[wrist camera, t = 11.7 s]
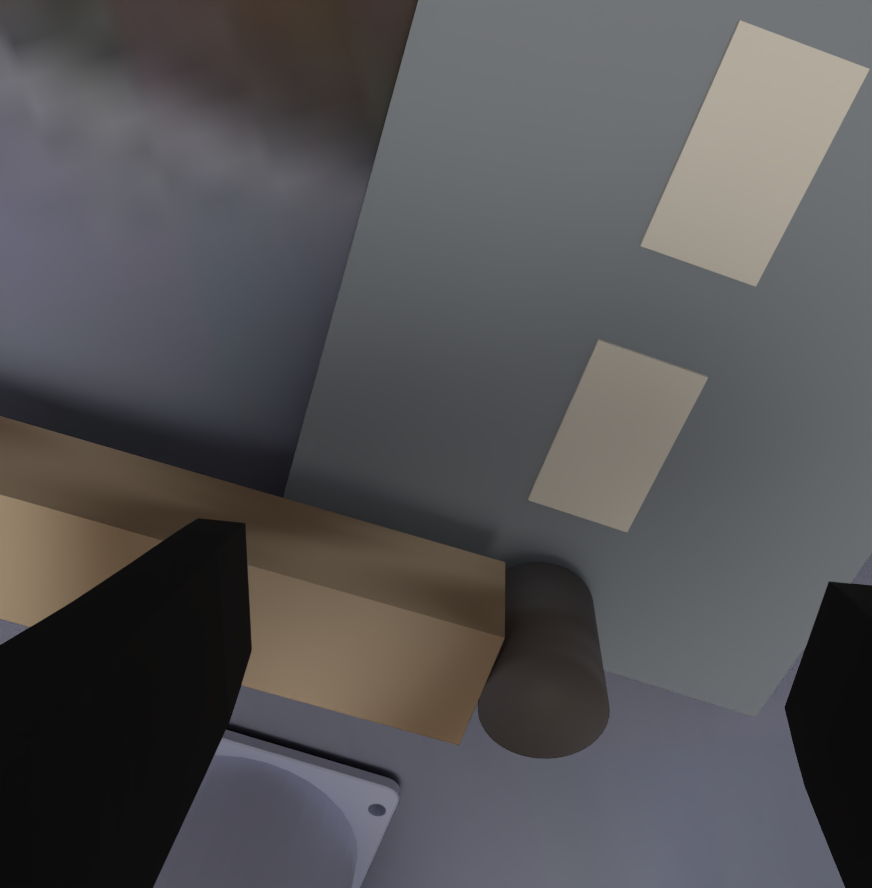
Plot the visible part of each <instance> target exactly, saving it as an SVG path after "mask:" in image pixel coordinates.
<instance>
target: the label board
mask: <svg viewBox="0 0 872 888" xmlns="http://www.w3.org/2000/svg"><path fill="white" fill-rule="evenodd" d="M283 498H285V499H289V500H292V501H296V502H299V503H303V504H306V505H309V506H313V507H316V508H320V509H323V510H327V511H330V512H334V513H337V514H341V515H344V516H347V517H351V518H354V519H358V520H361V521H365V522H368V523H372V524H375V525H379V526H382V527H385V528H389V529H392V530H396V531H399V532H403V533H406V534H410V535H413V536H416V537H420V538H423V539H427V540H430V541H434V542H437V543H441V544H444V545H448V546H451V547H454V548H458V549H461V550H465V551H468V552H472V553H475V554H479V555H482V556H486V557H489V558H492V559H496V560H499V561H503V562H505V570H507V569H509V568H511V567H514V566H517V565H520V564H524V563H530V562H545V563H552V564H556V565H559V566H562V567H565V568H567V569H569V570H570V571H572V572H574V573H575V574H576V575H578V576H579V577H580V578H581V579H582V580H583V581H584V582H585V584H586V585H587V587H588V588H589V590H590V592H591V595H592V598H593V603H594V610H595V616H596V623H597V629H598V636H599V643H600V649H601V656H602V662H603V669H604V671H608V672H611V673H614V674H617V675H620V676H624V677H627V678H630V679H633V680H636V681H640V682H643V683H646V684H649V685H652V686H656V687H659V688H662V689H665V690H668V691H672V692H675V693H678V694H681V695H684V696H688V697H691V698H694V699H697V700H700V701H704V702H707V703H710V704H713V705H716V706H720V707H723V708H726V709H729V710H732V711H736V712H739V713H742V714H745V715H748V716H752V717H755V718H756V716H757V715H758V714H759V712H760V711H761V709H762V708H763V706H764V705H765V704H766V702H767V701H768V699H769V698H770V697H771V695H772V694H773V692H774V691H775V689H776V688H777V687H778V685H779V684H780V682H781V681H782V680H783V678H784V677H785V675H786V674H787V673H788V671H789V670H790V668H791V667H792V665H793V664H794V663H795V661H796V660H797V658H798V657H799V656H800V654H801V653H802V651H803V650H804V648H805V647H806V645H807V642H808V639H809V637H810V634H811V631H812V628H813V625H814V622H815V619H816V617H817V614H818V611H819V608H820V605H821V602H822V600H823V597H824V594H825V591H826V588H827V585H828V582H829V581H830V582H840V583H851V582H852V581H853V579H854V578H855V576H856V575H857V574H858V572H859V571H860V569H861V568H862V566H863V565H864V564H865V562H866V561H867V559H868V558H869V557H870V555H871V554H872V0H418V4H417V7H416V11H415V15H414V18H413V22H412V26H411V29H410V33H409V37H408V40H407V44H406V48H405V51H404V55H403V59H402V62H401V66H400V70H399V73H398V77H397V81H396V84H395V88H394V92H393V95H392V99H391V103H390V106H389V110H388V114H387V117H386V121H385V125H384V128H383V132H382V136H381V139H380V143H379V147H378V150H377V154H376V158H375V161H374V165H373V169H372V172H371V176H370V180H369V183H368V187H367V191H366V194H365V198H364V202H363V205H362V209H361V213H360V216H359V220H358V224H357V227H356V231H355V235H354V238H353V242H352V246H351V249H350V253H349V257H348V260H347V264H346V268H345V271H344V275H343V279H342V282H341V286H340V290H339V293H338V297H337V301H336V304H335V308H334V312H333V315H332V319H331V323H330V326H329V330H328V334H327V337H326V341H325V345H324V349H323V352H322V356H321V360H320V363H319V367H318V371H317V374H316V378H315V382H314V385H313V389H312V393H311V396H310V400H309V404H308V407H307V411H306V415H305V418H304V422H303V426H302V429H301V433H300V437H299V440H298V444H297V448H296V451H295V455H294V459H293V462H292V466H291V470H290V473H289V477H288V481H287V484H286V488H285V492H284V495H283Z"/></svg>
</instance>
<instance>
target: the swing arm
mask: <svg viewBox="0 0 872 888" xmlns="http://www.w3.org/2000/svg"><path fill="white" fill-rule="evenodd" d="M198 518H201V519H211V520H221V521H231V522H241V523H245V525H246V545H247V564H248V583H249V603H250V622H251V642H252V652H251V655H250V658H249V661H248V665H247V668H246V671H245V675H244V678H243V681H242V684H241V685H242V686H246V687H249V688H253V689H257V690H260V691H264V692H267V693H271V694H275V695H278V696H282V697H286V698H289V699H293V700H296V701H300V702H304V703H307V704H311V705H315V706H318V707H322V708H325V709H329V710H333V711H336V712H340V713H344V714H347V715H351V716H354V717H358V718H362V719H365V720H369V721H372V722H376V723H380V724H383V725H387V726H391V727H394V728H398V729H401V730H405V731H409V732H412V733H416V734H420V735H423V736H427V737H430V738H434V739H438V740H441V741H445V742H449V743H452V744H456V745H459V744H460V742H461V740H462V737H463V735H464V733H465V730H466V728H467V726H468V723H469V721H470V719H471V716H472V714H473V711H474V709H475V707H476V704H477V702H478V714H479V719H480V722H481V724H482V726H483V728H484V730H485V731H486V733H487V734H488V735H489V736H490V737H491V738H492V739H493V740H494V741H495V742H496V743H497V744H499V745H500V746H502V747H503V748H505V749H507V750H509V751H511V752H513V753H516V754H519V755H522V756H527V757H532V758H546V759H547V758H558V757H564V756H568V755H571V754H574V753H577V752H579V751H581V750H583V749H585V748H586V747H588V746H589V745H591V744H592V743H593V742H594V741H596V740H597V739H598V737H599V736H600V735H601V734H602V732H603V731H604V729H605V727H606V725H607V723H608V719H609V701H608V695H607V688H606V682H605V675H604V669H603V662H602V656H601V649H600V643H599V636H598V629H597V623H596V616H595V610H594V603H593V598H592V595H591V592H590V590H589V588H588V587H587V585H586V584H585V582H584V581H583V580H582V579H581V578H580V577H579V576H578V575H576V574H575V573H574V572H572V571H570V570H569V569H567V568H565V567H562V566H559V565H556V564H552V563H545V562H530V563H524V564H520V565H517V566H514V567H511V568H509V569H507V570H505V562H503V561H499V560H496V559H492V558H489V557H486V556H482V555H479V554H475V553H472V552H468V551H465V550H461V549H458V548H454V547H451V546H448V545H444V544H441V543H437V542H434V541H430V540H427V539H423V538H420V537H416V536H413V535H410V534H406V533H403V532H399V531H396V530H392V529H389V528H385V527H382V526H379V525H375V524H372V523H368V522H365V521H361V520H358V519H354V518H351V517H347V516H344V515H341V514H337V513H334V512H330V511H327V510H323V509H320V508H316V507H313V506H309V505H306V504H303V503H299V502H296V501H292V500H289V499H285V498H282V497H278V496H275V495H271V494H268V493H265V492H261V491H258V490H254V489H251V488H247V487H244V486H240V485H237V484H233V483H230V482H227V481H223V480H220V479H216V478H213V477H209V476H206V475H202V474H199V473H195V472H192V471H189V470H185V469H182V468H178V467H175V466H171V465H168V464H164V463H161V462H158V461H154V460H151V459H147V458H144V457H140V456H137V455H133V454H130V453H126V452H123V451H120V450H116V449H113V448H109V447H106V446H102V445H99V444H95V443H92V442H88V441H85V440H82V439H78V438H75V437H71V436H68V435H64V434H61V433H57V432H54V431H50V430H47V429H44V428H40V427H37V426H33V425H30V424H26V423H23V422H19V421H16V420H12V419H9V418H6V417H2V416H0V619H3V620H7V621H10V622H14V623H18V624H21V625H25V626H28V627H31V626H33V625H35V624H36V623H38V622H40V621H41V620H43V619H45V618H46V617H48V616H50V615H51V614H53V613H55V612H56V611H58V610H59V609H61V608H63V607H64V606H66V605H68V604H69V603H71V602H72V601H74V600H76V599H77V598H79V597H80V596H82V595H83V594H85V593H86V592H88V591H89V590H91V589H92V588H94V587H95V586H97V585H98V584H100V583H101V582H103V581H104V580H106V579H107V578H109V577H110V576H112V575H113V574H115V573H116V572H118V571H119V570H121V569H122V568H124V567H125V566H127V565H128V564H130V563H131V562H133V561H134V560H136V559H137V558H139V557H140V556H141V555H143V554H144V553H146V552H147V551H149V550H150V549H152V548H153V547H155V546H156V545H158V544H159V543H160V542H162V541H163V540H165V539H166V538H168V537H169V536H171V535H172V534H174V533H175V532H177V531H178V530H180V529H181V528H183V527H184V526H186V525H188V524H189V523H191V522H193V521H194V520H196V519H198Z"/></svg>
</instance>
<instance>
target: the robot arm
mask: <svg viewBox="0 0 872 888" xmlns="http://www.w3.org/2000/svg"><path fill="white" fill-rule="evenodd" d="M251 652H252V642H251V622H250V603H249V583H248V564H247V545H246V525H245V523H241V522H231V521H221V520H211V519H201V518H198V519H196V520H194V521H193V522H191V523H189V524H188V525H186V526H184V527H183V528H181V529H180V530H178V531H177V532H175V533H174V534H172V535H171V536H169V537H168V538H166V539H165V540H163V541H162V542H160V543H159V544H158V545H156V546H155V547H153V548H152V549H150V550H149V551H147V552H146V553H144V554H143V555H141V556H140V557H139V558H137V559H136V560H134V561H133V562H131V563H130V564H128V565H127V566H125V567H124V568H122V569H121V570H119V571H118V572H116V573H115V574H113V575H112V576H110V577H109V578H107V579H106V580H104V581H103V582H101V583H100V584H98V585H97V586H95V587H94V588H92V589H91V590H89V591H88V592H86V593H85V594H83V595H82V596H80V597H79V598H77V599H76V600H74V601H72V602H71V603H69V604H68V605H66V606H64V607H63V608H61V609H59V610H58V611H56V612H55V613H53V614H51V615H50V616H48V617H46V618H45V619H43V620H41V621H40V622H38V623H36V624H35V625H33V626H31V627H30V628H28V629H26V630H25V631H23V632H21V633H20V634H18V635H16V636H15V637H13V638H11V639H10V640H8V641H6V642H5V643H3V644H1V645H0V888H360V887H361V885H362V883H363V881H364V878H365V876H366V874H367V872H368V869H369V867H370V865H371V863H372V860H373V858H374V856H375V854H376V851H377V849H378V847H379V845H380V843H381V840H382V838H383V836H384V834H385V831H386V829H387V827H388V825H389V822H390V820H391V818H392V816H393V813H394V811H395V809H396V807H397V804H398V802H399V795H400V787H399V785H398V784H397V783H396V782H395V781H394V780H392V779H390V778H387V777H384V776H381V775H377V774H374V773H370V772H367V771H364V770H360V769H357V768H354V767H350V766H347V765H344V764H340V763H337V762H333V761H330V760H327V759H323V758H320V757H317V756H313V755H310V754H307V753H303V752H300V751H296V750H293V749H290V748H286V747H283V746H280V745H276V744H273V743H270V742H266V741H263V740H259V739H256V738H253V737H249V736H246V735H243V734H239V733H236V732H233V731H229V730H226V728H227V726H228V724H229V721H230V718H231V715H232V712H233V709H234V706H235V703H236V700H237V697H238V694H239V691H240V688H241V684H242V681H243V678H244V675H245V671H246V668H247V665H248V661H249V658H250V655H251ZM785 711H786V715H787V719H788V723H789V728H790V732H791V736H792V740H793V744H794V748H795V752H796V756H797V760H798V763H799V767H800V770H801V774H802V778H803V781H804V785H805V788H806V791H807V793H808V796H809V798H810V801H811V804H812V806H813V809H814V811H815V814H816V816H817V819H818V821H819V824H820V826H821V829H822V831H823V834H824V836H825V839H826V841H827V844H828V846H829V849H830V851H831V854H832V856H833V859H834V861H835V864H836V866H837V868H838V871H839V873H840V876H841V878H842V881H843V883H844V886H845V888H872V586H870V585H860V584H850V583H840V582H830V581H829V582H828V585H827V588H826V591H825V594H824V597H823V600H822V602H821V605H820V608H819V611H818V614H817V617H816V619H815V622H814V625H813V628H812V631H811V634H810V637H809V639H808V642H807V645H806V648H805V651H804V654H803V657H802V659H801V662H800V665H799V668H798V671H797V674H796V677H795V679H794V682H793V685H792V688H791V691H790V694H789V697H788V699H787V702H786V705H785ZM377 804H380V805H377Z"/></svg>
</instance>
